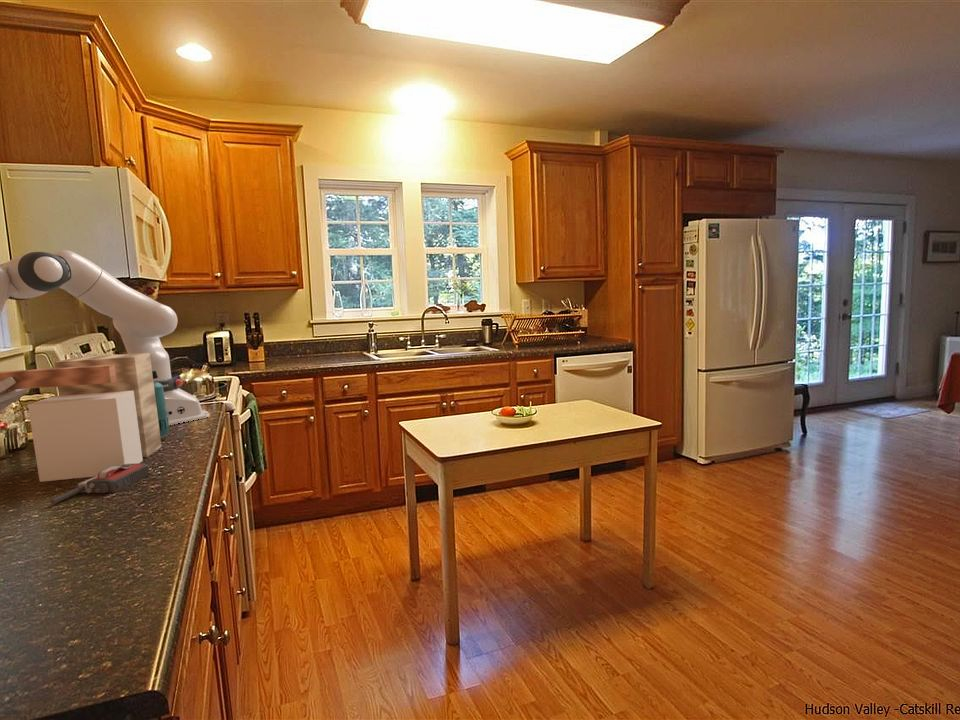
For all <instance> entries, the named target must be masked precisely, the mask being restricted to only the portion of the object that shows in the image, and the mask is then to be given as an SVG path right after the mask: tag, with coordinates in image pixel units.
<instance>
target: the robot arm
mask: <svg viewBox="0 0 960 720" xmlns="http://www.w3.org/2000/svg"><path fill="white" fill-rule="evenodd" d="M56 289H61V290H63V291H66V292H67V293H68V294H70V295H71V296H73V297H74V298H76V300H77V299H78V301H81V302H82V303H84V304H85V305H87V306H89V307H90V308H91V309H93V310H95V311H96V312H98V313H99V314H101V315H105V316H107V317H109V318H110V319H112V324H113V327H114V328H115V330H116V331H117V332H118V333H119V335H120V338H121V340H122V343H123V345H124V348H125V350H126V354H137V353H150V359H151V367H152V371H156V372H157V376H158V378H156V379H153V382H159V383H160V384H162V385H163V391H164V397H165V401H166V402H165V403H166V412H167V417H168V423H169V425H168V427H171V426H175V425H179V424H178V423H180V424H184V423H183V422H185V423H189V422H194V421H197V420H198V419H199V420H202V419H207V417H208V418H210V416H211V415H210V412H209V410H208V411H207V410H204V409H202V405H201V403H200V401H199V399H198V398H197V397H196V396H194V395H192V394H191V393H189V392H187V391H185V390H183V389H181V388H180V387H182V385H184V381H183V380H182V379H179V378H178V379H177V378H174V377H172V372H171V361H170V360H171V359H170V356H169V353H168V351H166V350H165V348H164V346H163V344H162V341H161V339H160V338H162V337H165V336H167V335H171V334H172V333H173V332H174V331H175V330H176V329H177V325H178V323H179V322H178V321H179V320H178V316H177V313H176V312H175V310H173V308H171V307H170V306H168V305H166V304H163V303H161V302H159V301H157V300H155V299H153V298H151V297H149V296H147V295H146V294H144V293H142V292H140V291H138V290H137V289H134V288H132V287H130V286H128V285H126V284H125V283H123V282H122V281H120V280H119V279H117V278H116V277H115V276H113V275H112V274H110V273H109V272H107V271H106V270H105V269H103V268H102V267H100V266H99V265H97V264H96V263H94V262H93V261H91V260H89V259H88V258H87V257H84V256H82V255H80V254H78V253H76V252H74V251H72V250H68V249H61V250H57V251H55V252H54V253H49V252H46V251H45V252H44V251H33V252H28V253H26V254H22V255H19V256H15V257H14V258H13V257H12V258H11V259H10V260H9V261H7V262H4V263H2V264H0V315H1V314H2V312H3V310H4V307H5V304H6V302H7V301H8V300H13V301H14V300H15V301H25V300H26V301H27V300H29V299H33V298H37V297H40V296H43V295H45V294H46V293H49V292H51V291H55V290H56ZM17 383H18V380H17V379H16V377H14V376H13V377H8V378H7V379H5V380H3V381H1V382H0V415H1V414H3V413H4V412H5V409H6V408H8V407H9V406H10V405H12V404H14V403H15V402H16V401H17V400H19V399H20V398H22V397H23V396H24V395H26V394H27V393H28V392H29V391H30V390H31V388H29V389H15V390H6V389H8V388H9V387H11V386H14V385H15V384H17ZM193 420H194V421H193ZM188 421H189V422H188ZM174 424H175V425H174ZM170 425H171V426H170Z"/></svg>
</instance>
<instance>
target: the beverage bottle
mask: <svg viewBox="0 0 960 720" xmlns="http://www.w3.org/2000/svg"><path fill="white" fill-rule="evenodd" d="M152 374H153V379H156V378H158V376H157V372H156V371H152ZM154 390H155V398H156V406H157V414H158V422H159V430H160V437H163V436H167V435H168V434H169V432H170V426H168V425H169V423H168V417H167V412H166V403H165V402H166V401H165V397H164V391H163V385H162V384H160V383H159V382H154Z"/></svg>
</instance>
